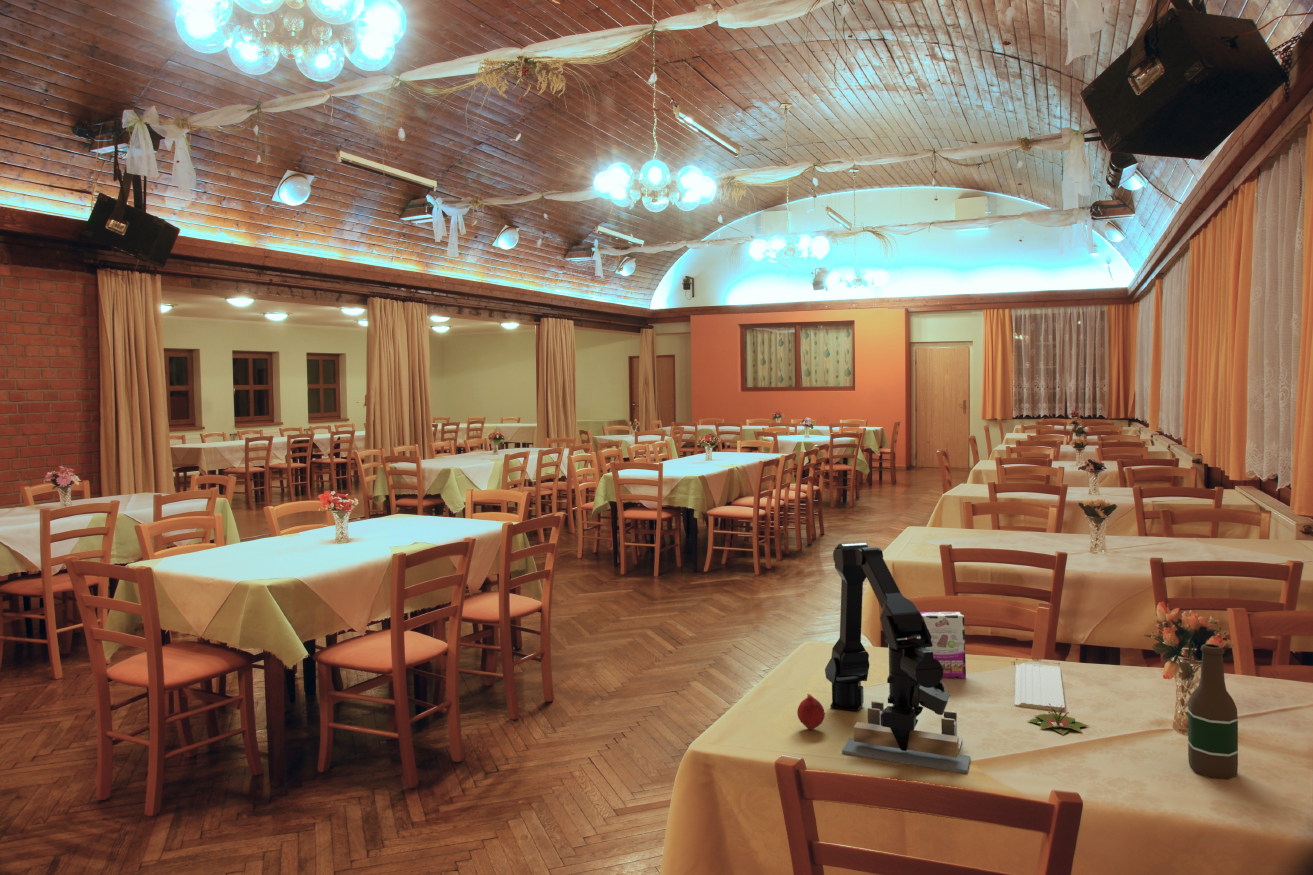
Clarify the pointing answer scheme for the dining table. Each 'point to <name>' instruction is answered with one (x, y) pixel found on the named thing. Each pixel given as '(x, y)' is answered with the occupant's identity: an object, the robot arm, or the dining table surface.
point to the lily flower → (1058, 721)
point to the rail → (916, 741)
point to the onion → (810, 712)
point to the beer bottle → (1212, 720)
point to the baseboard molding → (1039, 686)
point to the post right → (950, 724)
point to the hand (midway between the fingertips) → (905, 747)
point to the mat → (908, 756)
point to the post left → (875, 712)
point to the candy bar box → (947, 641)
